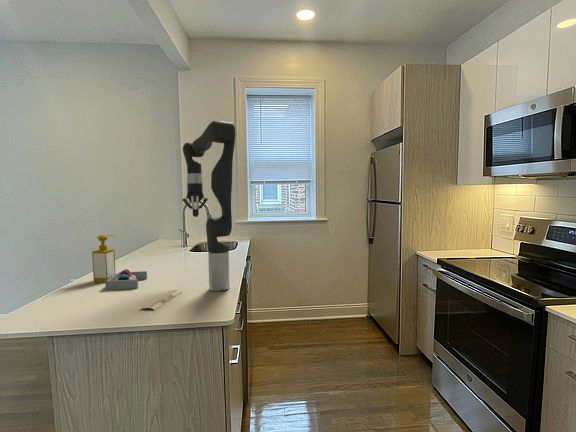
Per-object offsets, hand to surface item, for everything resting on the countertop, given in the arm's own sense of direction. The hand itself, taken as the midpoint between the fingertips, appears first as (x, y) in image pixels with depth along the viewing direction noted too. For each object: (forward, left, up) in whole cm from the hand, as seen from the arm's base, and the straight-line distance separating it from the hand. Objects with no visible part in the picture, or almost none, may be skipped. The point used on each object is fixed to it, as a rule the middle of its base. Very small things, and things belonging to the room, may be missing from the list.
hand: (195, 216), depth 178 cm
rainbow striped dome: (-5, +34, -32) cm, 47 cm away
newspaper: (-35, +10, -33) cm, 49 cm away
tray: (-5, +33, -32) cm, 46 cm away
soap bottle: (+7, +46, -32) cm, 57 cm away
